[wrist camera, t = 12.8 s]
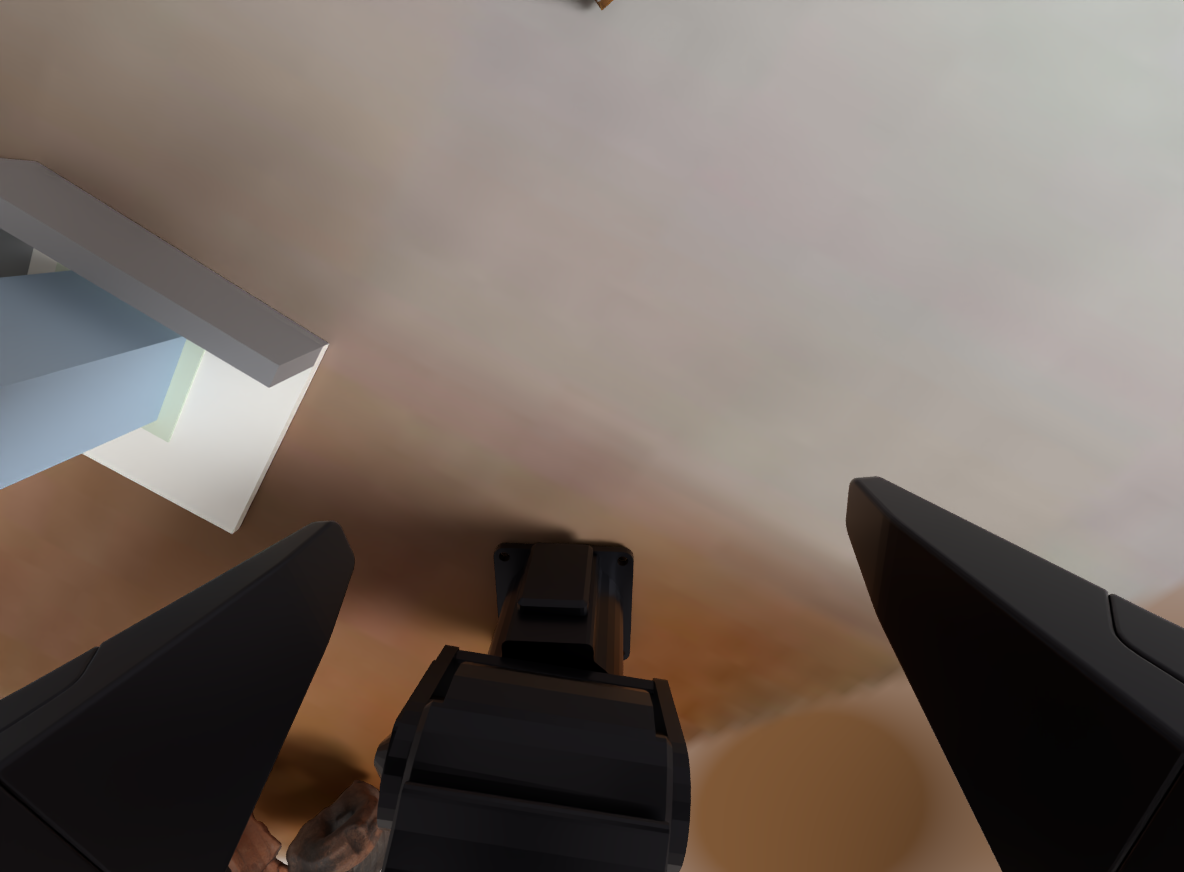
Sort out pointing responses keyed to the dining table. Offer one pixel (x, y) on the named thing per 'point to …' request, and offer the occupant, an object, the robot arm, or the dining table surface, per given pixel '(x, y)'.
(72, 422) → the slate block
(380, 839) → the pottery mug
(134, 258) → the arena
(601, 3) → the wooden post with brackets
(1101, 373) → the dining table surface
